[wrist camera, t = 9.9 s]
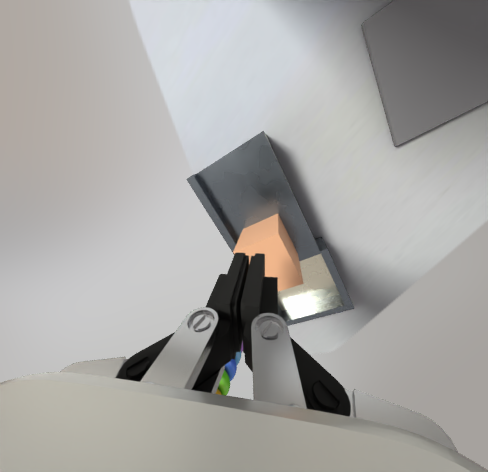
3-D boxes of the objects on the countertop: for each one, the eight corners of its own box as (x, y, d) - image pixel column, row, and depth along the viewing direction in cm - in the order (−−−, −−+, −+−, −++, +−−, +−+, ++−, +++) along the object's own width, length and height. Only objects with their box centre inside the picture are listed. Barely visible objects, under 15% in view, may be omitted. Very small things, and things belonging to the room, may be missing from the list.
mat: (361, 25, 15) (363, 22, 15) (489, -67, 13) (496, -73, 12) (394, 146, 18) (396, 146, 18) (504, 91, 15) (510, 90, 15)
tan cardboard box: (242, 229, 20) (233, 252, 16) (278, 213, 19) (278, 233, 14) (264, 266, 22) (260, 297, 17) (297, 253, 20) (303, 283, 16)
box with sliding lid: (197, 177, 22) (180, 183, 18) (272, 129, 19) (271, 123, 15) (279, 310, 28) (279, 337, 24) (346, 291, 25) (359, 318, 21)
